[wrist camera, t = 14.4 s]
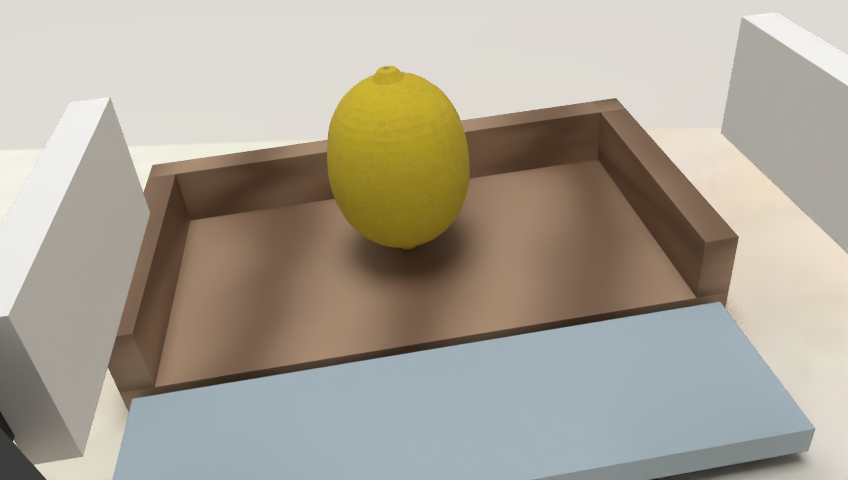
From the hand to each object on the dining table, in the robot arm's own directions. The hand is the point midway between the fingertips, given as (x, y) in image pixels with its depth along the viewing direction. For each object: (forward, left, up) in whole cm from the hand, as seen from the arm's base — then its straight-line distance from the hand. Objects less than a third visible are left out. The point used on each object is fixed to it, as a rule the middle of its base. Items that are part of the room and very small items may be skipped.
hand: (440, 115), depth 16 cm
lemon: (0, +11, -11) cm, 16 cm away
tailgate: (0, +5, -11) cm, 12 cm away
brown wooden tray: (0, +11, -13) cm, 17 cm away
